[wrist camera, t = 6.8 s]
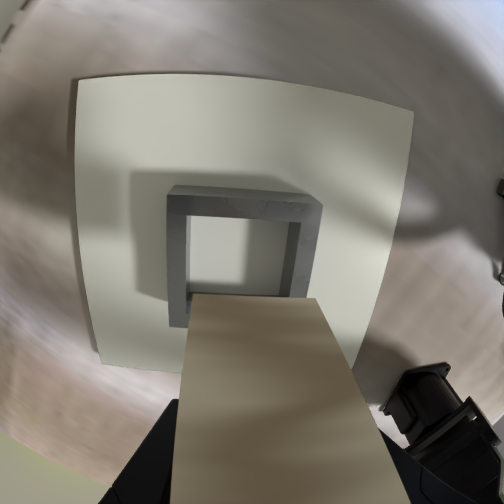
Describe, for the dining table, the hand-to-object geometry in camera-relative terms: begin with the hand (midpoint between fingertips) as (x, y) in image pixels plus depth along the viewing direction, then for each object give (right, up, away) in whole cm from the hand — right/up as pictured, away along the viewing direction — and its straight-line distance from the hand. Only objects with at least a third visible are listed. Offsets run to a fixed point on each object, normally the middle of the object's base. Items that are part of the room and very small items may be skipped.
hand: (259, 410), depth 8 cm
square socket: (-1, +5, +11) cm, 12 cm away
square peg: (0, +1, +3) cm, 3 cm away
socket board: (-1, +5, +11) cm, 12 cm away
